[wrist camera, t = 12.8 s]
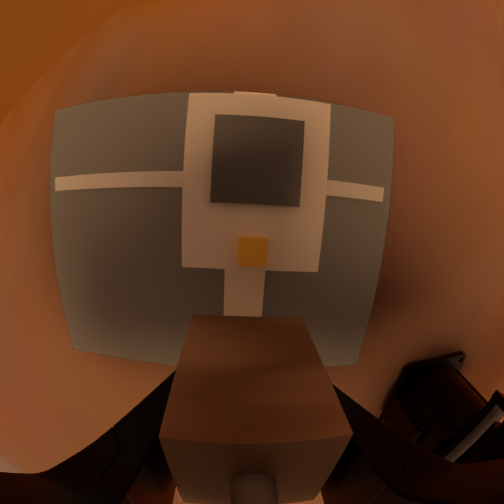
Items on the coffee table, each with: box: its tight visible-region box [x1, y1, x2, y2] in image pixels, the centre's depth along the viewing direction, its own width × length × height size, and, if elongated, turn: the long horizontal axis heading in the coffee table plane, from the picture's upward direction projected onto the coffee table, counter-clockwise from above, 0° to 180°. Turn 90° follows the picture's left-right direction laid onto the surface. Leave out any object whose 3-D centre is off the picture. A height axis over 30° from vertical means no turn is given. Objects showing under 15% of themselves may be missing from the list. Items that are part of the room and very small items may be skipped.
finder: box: [182, 93, 331, 272], centre depth 8 cm, size 4×5×3 cm
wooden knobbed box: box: [159, 314, 353, 504], centre depth 6 cm, size 4×4×6 cm
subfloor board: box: [50, 91, 394, 367], centre depth 11 cm, size 15×12×2 cm
